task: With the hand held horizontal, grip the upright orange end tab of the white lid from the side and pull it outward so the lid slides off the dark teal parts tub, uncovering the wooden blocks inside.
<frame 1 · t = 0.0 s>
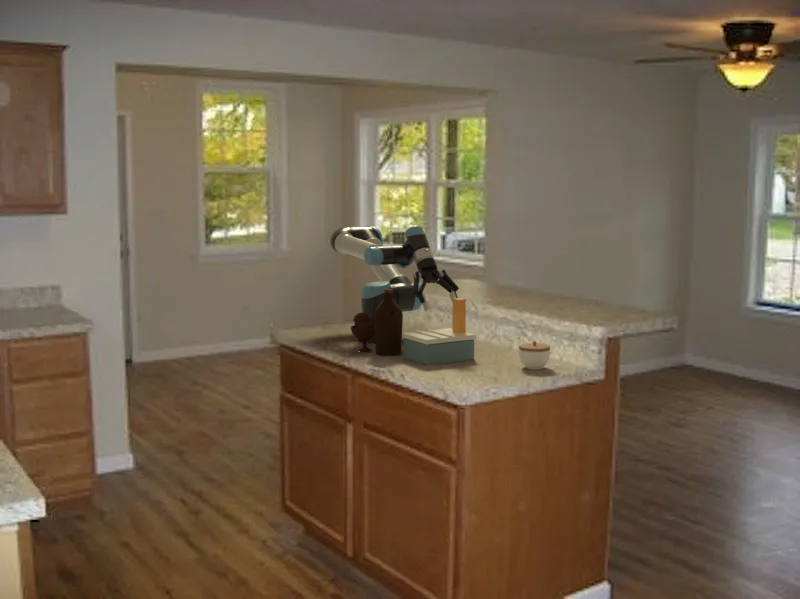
hand: (442, 308, 347), 15 cm above the counter, tool tilted 35°, fingers open, 13 cm apart
olive oil: (388, 356, 332), on the counter
tub: (438, 360, 323), on the counter
lid: (438, 319, 321), point 15 cm above the counter, slide at 0.0 cm
walnut block b: (436, 360, 319), point 1 cm above the counter, touching tub
ice cream bowl: (364, 351, 342), on the counter
walnut block a: (420, 358, 322), point 1 cm above the counter, touching tub
lidded jar: (534, 368, 311), on the counter
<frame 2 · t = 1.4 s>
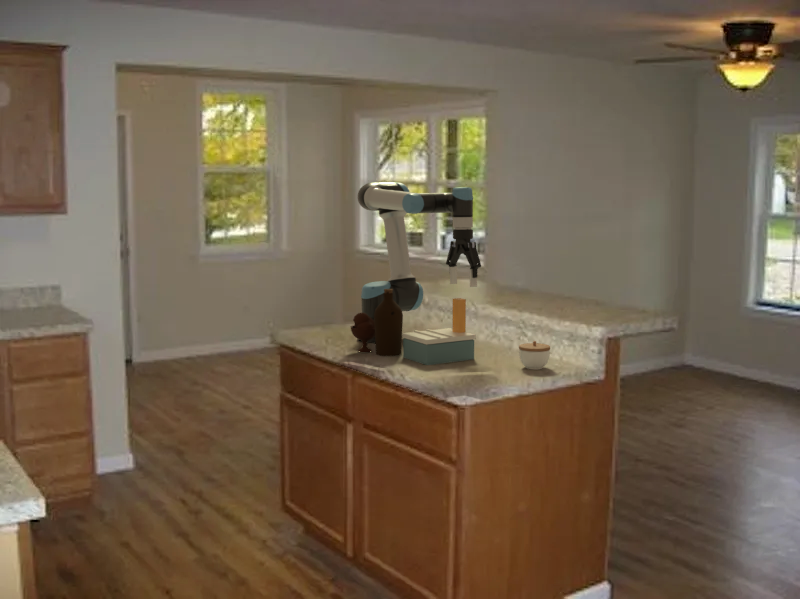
hand: (463, 285, 338), 25 cm above the counter, tool pointing down, fingers open, 13 cm apart
nothing on the counter moved.
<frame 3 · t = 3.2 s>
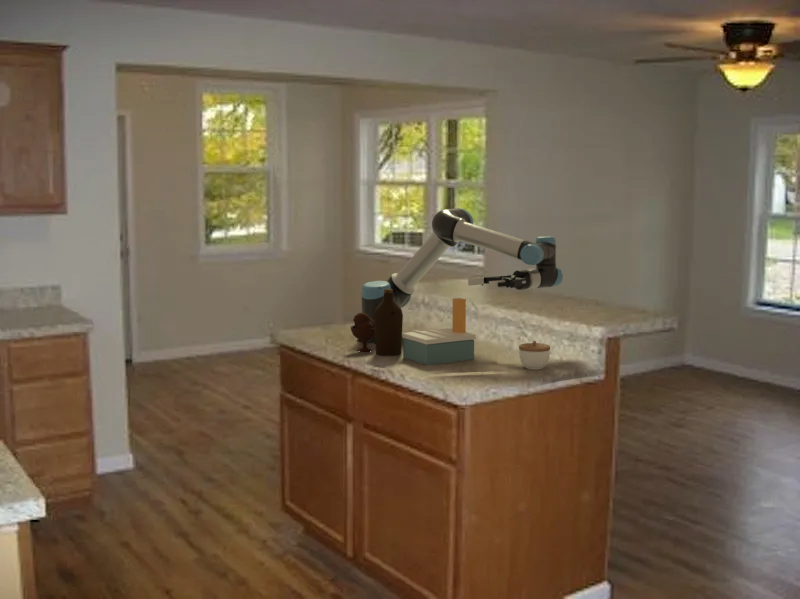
hand: (478, 283, 329), 27 cm above the counter, tool horizontal, fingers open, 13 cm apart
nothing on the counter moved.
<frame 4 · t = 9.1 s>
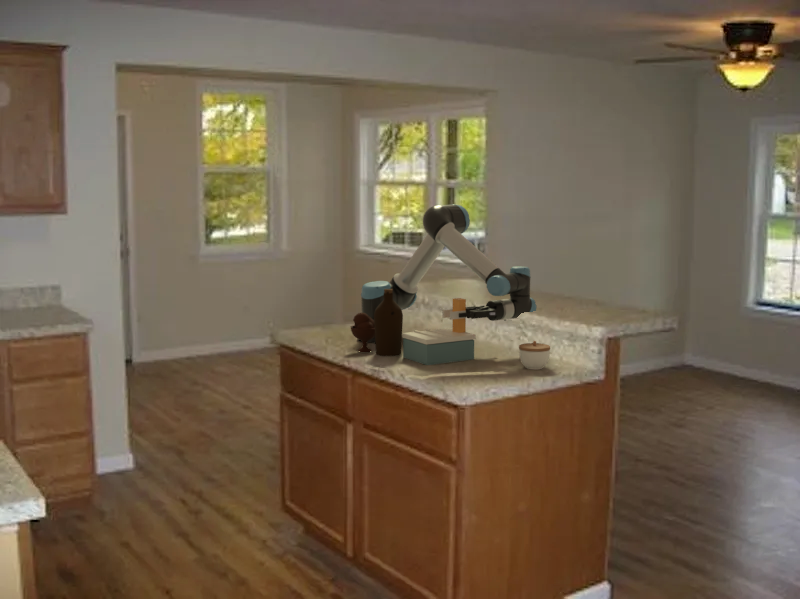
hand: (446, 314, 323), 16 cm above the counter, tool horizontal, fingers closed on lid, 4 cm apart
lid: (438, 319, 321), point 15 cm above the counter, slide at 0.0 cm, touching gripper
everything else where it was.
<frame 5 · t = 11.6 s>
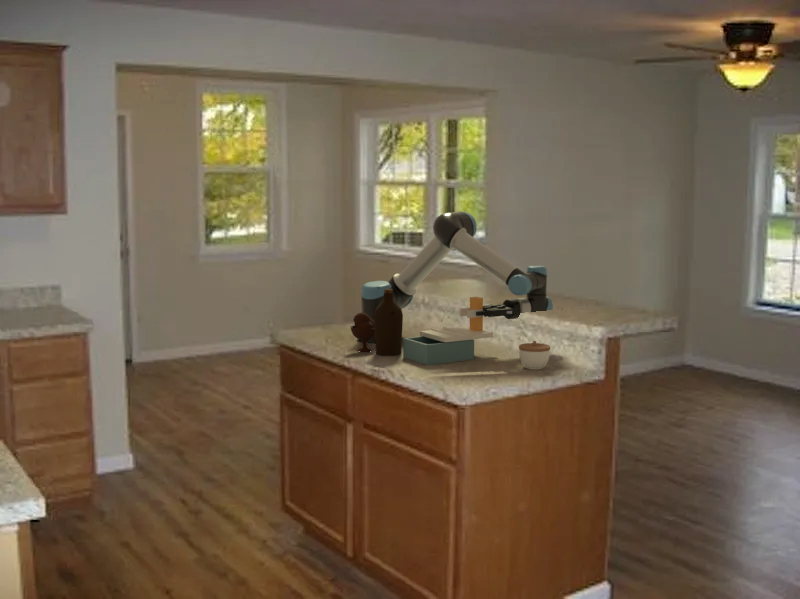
hand: (464, 313, 326), 17 cm above the counter, tool horizontal, fingers closed on lid, 4 cm apart
lid: (456, 317, 325), point 15 cm above the counter, slide at 7.6 cm, touching gripper
everything else where it was.
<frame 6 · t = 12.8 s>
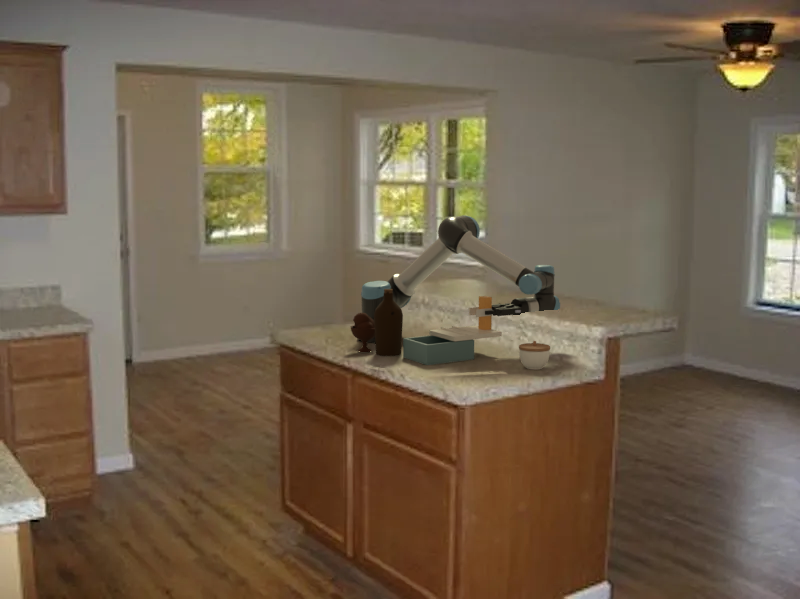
hand: (473, 312, 328), 17 cm above the counter, tool horizontal, fingers closed on lid, 4 cm apart
lid: (465, 316, 327), point 15 cm above the counter, slide at 11.6 cm, touching gripper
everything else where it was.
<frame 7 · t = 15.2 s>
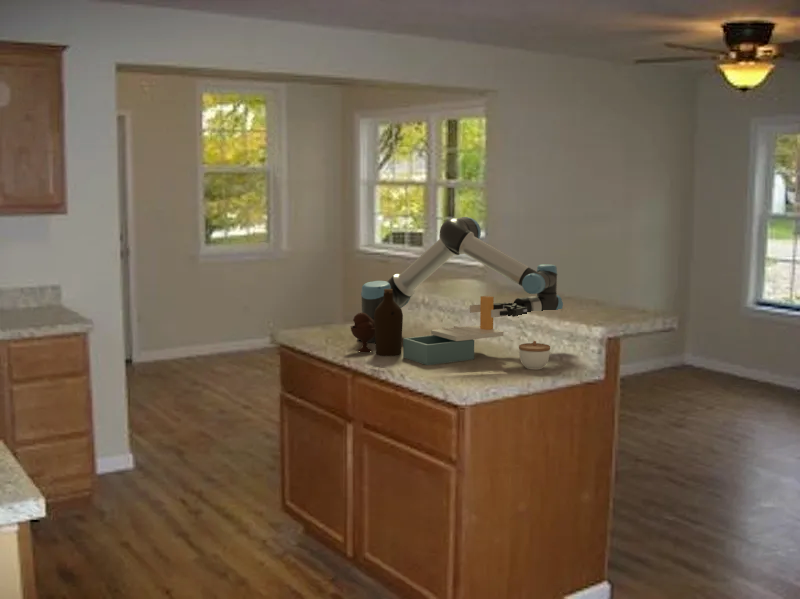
hand: (480, 311, 330), 17 cm above the counter, tool horizontal, fingers open, 13 cm apart
lid: (467, 316, 327), point 15 cm above the counter, slide at 12.4 cm
everything else where it was.
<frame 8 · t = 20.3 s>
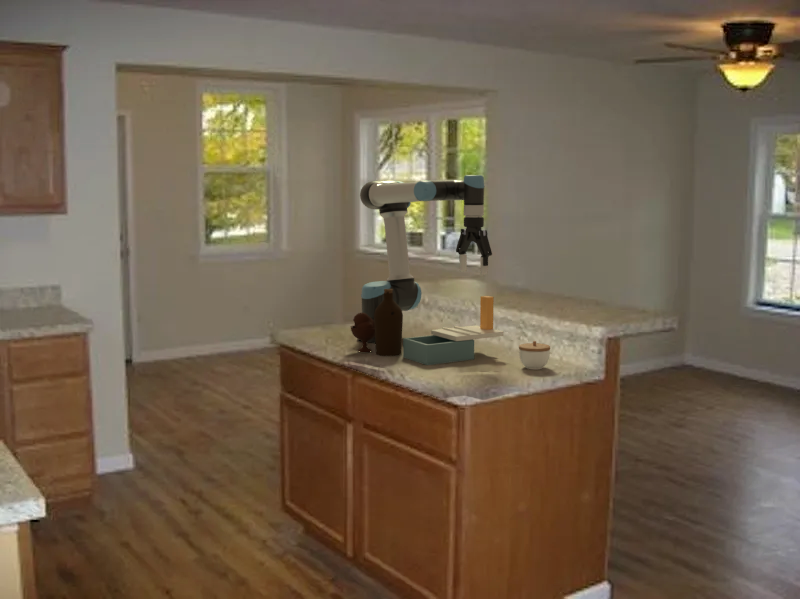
hand: (473, 273, 339), 30 cm above the counter, tool pointing down, fingers open, 13 cm apart
nothing on the counter moved.
at the end: lid slide at 12.4 cm; the gripper is holding nothing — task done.
